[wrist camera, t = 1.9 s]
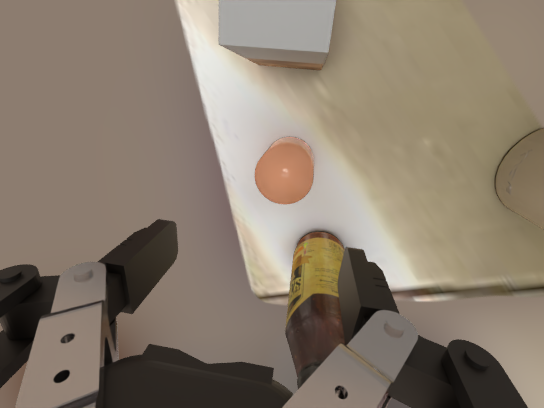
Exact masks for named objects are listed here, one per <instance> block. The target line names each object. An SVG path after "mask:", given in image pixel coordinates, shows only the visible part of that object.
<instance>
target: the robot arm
mask: <svg viewBox="0 0 544 408" xmlns="http://www.w3.org/2000/svg"><path fill="white" fill-rule="evenodd" d="M495 186H496V191H497V195H498V196H499V198H500V200H501V202H502V203H503V204H504V205H505V206H506V207H507V208H509V209H511V210H512V211H514V212H516V213H517V214H519V215H521V216H522V217H524V218H526V219H527V220H529V221H531V222H532V223H534V224H536V225H537V226H539V227H540V228H542V229H544V128H542V129H540V130H538V131H535V132H533V133H532V134H530V135H528V136H527V137H525V138H524V139H522V140H521V141H520V142H519V143H517V144H516V145H515V146H514V147H513V148H512V149H511V150H510V151H509V153H508V154H507V155H506V156H505V157H504V159H503V161H502V163H501V164H500V166H499V169H498V172H497V175H496V184H495ZM177 254H178V243H177V228H176V223H175V222H173V221H167V220H160V219H158V220H156V221H155V222H154V223H153V224H151V225H150V226H149V227H148V228H144V229H141V230H139V231H137V232H134V233H133V234H132V235H131V236H129V237H128V238H127V240H125V241H123V242H122V243H121V244H120V245H118V246H117V247H116V248H114V249H113V250H112V251H111V252H109V253H108V254H107V255H105V256H104V257H103V258H102V259H101V260H99V261H98V262H85V263H81V264H77V265H75V266H72V267H71V268H69V269H67V270H66V271H64V272H63V273H62V274H61V275H60V276H44V277H40V275H39V272H38V269H37V267H36V266H33V265H17V266H12V267H9V268H6V269H3V270H0V323H1V326H2V328H3V331H1V332H0V388H1V387H2V386H3V385H4V384H5V383H6V382H7V381H8V380H9V379H10V378H11V377H12V376H13V375H14V374H15V373H16V372H17V371H18V370H19V369H20V368H21V367H22V366H23V365H24V363H26V362H27V361H28V363H27V367H26V370H25V373H24V377H23V381H22V385H21V388H20V391H19V395H18V399H17V402H16V406H15V408H386V407H387V405H388V403H389V401H390V400H391V398H394V399H396V400H398V401H400V402H402V403H404V404H405V405H407V406H409V407H411V408H528V407H527V405H526V404H525V402H524V401H523V399H522V398H521V396H520V394H519V393H518V391H517V390H516V388H515V387H514V385H513V383H512V382H511V380H510V379H509V377H508V375H507V374H506V373H505V371H504V369H503V368H502V366H501V365H500V363H499V362H498V361H497V360H496V359H495V358H494V357H493V356H492V355H491V354H490V353H489V352H487V351H486V350H484V349H483V348H481V347H480V346H478V345H476V344H474V343H471V342H469V341H465V340H453V341H451V342H450V343H449V345H448V347H447V348H446V347H444V346H442V345H439V344H437V343H434V342H432V341H429V340H427V339H424V338H423V337H421V336H419V335H418V333H417V331H416V328H415V327H414V326H413V324H412V323H411V322H410V321H409V320H407V319H406V318H405V317H404V316H402V315H400V314H399V311H398V309H397V306H396V304H395V301H394V299H393V296H392V294H391V291H390V289H389V286H388V284H387V281H386V279H385V276H384V274H383V271H382V270H381V269H380V268H379V267H378V266H377V265H376V264H375V263H373V262H367V259H366V256H365V253H364V250H362V249H355V248H348V247H346V248H345V250H344V254H343V259H342V263H341V267H340V271H339V276H338V295H339V302H340V310H341V317H342V325H343V332H344V339H345V344H344V343H341V344H339V345H338V346H337V347H336V348H335V349H334V351H333V352H332V353H331V354H330V355H329V356H328V357H327V358H326V359H325V361H324V362H323V363H322V364H321V365H320V366H319V367H318V368H317V369H316V371H315V372H314V373H313V374H312V375H311V376H310V377H309V378H308V379H307V380H306V382H305V383H304V384H303V385H302V386H301V387H300V388H299V389H298V391H297V392H296V393H295V394H293V393H292V392H290V391H289V390H288V389H287V388H286V387H285V386H283V385H282V384H280V383H279V382H277V381H275V380H273V379H272V377H273V370H274V368H271V367H265V366H260V365H255V364H250V363H245V362H235V363H216V364H207V363H204V362H202V361H200V360H198V359H196V358H194V357H192V356H190V355H188V354H186V353H184V352H182V351H180V350H178V349H173V348H168V347H162V346H157V345H152V344H149V345H148V347H147V348H146V350H145V351H144V353H143V354H142V355H136V356H130V357H127V358H123V359H120V360H118V332H117V319H116V316H117V315H118V314H119V313H120V312H124V313H129V314H133V313H134V311H135V310H136V309H137V308H138V306H139V305H140V304H141V303H142V301H143V300H144V299H145V298H146V296H147V295H148V294H149V293H150V292H151V290H152V289H153V288H154V287H155V285H156V284H157V283H158V282H159V280H160V279H161V278H162V276H163V275H164V274H165V273H166V272H167V270H168V269H169V268H170V267H171V266H172V264H173V263H174V261H175V260H176V257H177Z"/></svg>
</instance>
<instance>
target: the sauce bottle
mask: <svg viewBox="0 0 544 408" xmlns="http://www.w3.org/2000/svg"><path fill="white" fill-rule="evenodd" d="M343 254H344V248H343V245H342V244H341V242H340V241H339V240H338V239H337V238H336V237H335V236H333V235H331V234H329V233H325V232H313V233H309V234H307V235H306V236H304V237H303V238H301V240H300V241H299V243H298V244H297V247H296V249H295V252H294V256H293V265H292V274H291V282H290V291H289V301H288V312H287V320H286V338H287V341H288V344H289V347H290V351H291V355H292V358H293V362H294V365H295V369H296V373H297V377H298V379H297V385H298V389H299V388H300V387H301V386H302V385H303V384H304V383H305V382H306V380H307V379H308V378H309V377H310V376H311V375H312V374H313V373H314V372H315V371H316V369H317V368H318V367H319V366H320V365H321V364H322V363H323V362H324V361H325V359H326V358H327V357H328V356H329V355H330V354H331V353H332V352H333V351H334V349H335V348H336V347H337V346H338V345H339V344H341V343H344V344H345V339H344V332H343V325H342V317H341V310H340V302H339V295H338V276H339V271H340V267H341V263H342V259H343Z"/></svg>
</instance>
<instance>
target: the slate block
mask: <svg viewBox="0 0 544 408" xmlns="http://www.w3.org/2000/svg"><path fill="white" fill-rule="evenodd" d="M335 5H336V0H219V45H221V46H223V47H225V48H227V49H229V50H231V51H233V52H235V53H236V54H238V55H240V56H242V57H244V58H253V59H265V60H278V61H290V62H303V63H315V64H324V63H325V61H326V58H327V55H328V52H329V45H330V39H331V32H332V25H333V19H334V12H335Z"/></svg>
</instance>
